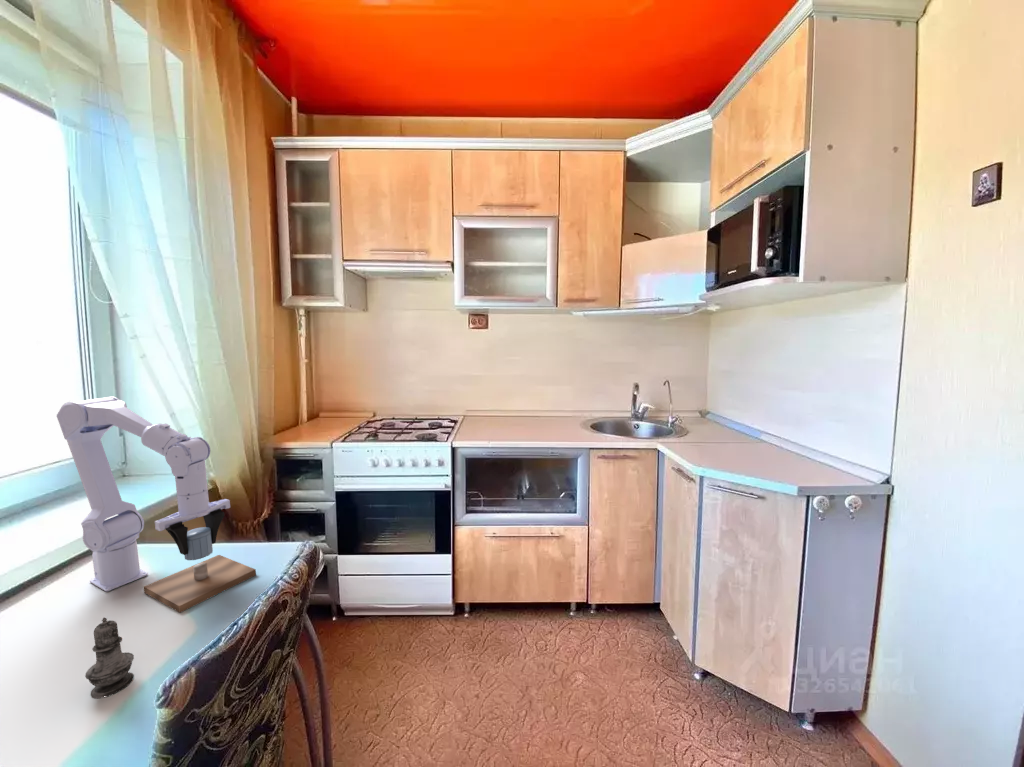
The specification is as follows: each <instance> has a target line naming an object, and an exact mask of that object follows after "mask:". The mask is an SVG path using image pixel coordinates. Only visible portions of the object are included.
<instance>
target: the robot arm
mask: <svg viewBox="0 0 1024 767" xmlns="http://www.w3.org/2000/svg"><path fill="white" fill-rule="evenodd" d="M56 418H57V421H58V423H59V424H58V425H59V426H60V429H61V433H62V435H63V437H64V440H66V441H67V445H68V448H69V450H70V453H71V456H72V458H73V461H74V464H75V467H76V471H77V472H78V475H79V479H80V481H81V484H82V486H83V487H82V488H83V489H84V492H85V494H86V497H87V501H88V503H89V507H90V509H91V511H90V512H89V513H88V514H87V516H86V517H85V518H84V519H83V520H82V522H81V523H80V524H81V527H82V532H83V533H82V541H83V544H84V545H85V547H86V548H88V549H89V550H91V552H92V556H91V557H92V564H93V572H94V573H93V574H94V578H91V579H90V580H89V582H90V583H91V584H93V585H94V586H96V587H98V588H99V589H101V590H102V591H104V592H110V591H112V590H114V589H117V588H119V587H121V586H124V585H127V584H129V583H131V582H135V581H136V580H138V579H142V578H144V577H146V576H148V575H149V573H148V572H147V571H145V570H143V569H141V567H140V560H139V552H138V550H139V549H138V544H137V540H138V539H139V538H140V533H141V532H143V530H144V528H145V521H144V520H145V519H144V518H143V517H144V516H143V515H141V513H139V511H138V510H137V507H136V505H135V504H134V503H131V502H127V501H125V500H123V499H122V497H121V495H120V491H119V488H118V485H117V483H116V480H115V477H114V475H113V471H112V468H111V465H110V463H109V461H108V458H107V455H106V451H105V448H104V446H103V443H102V441H101V440H102V438H103V437H104V434H105V433H107V432H108V431H109V430H110V429H112V428H113V427H114V426H115V427H117V428H119V429H121V430H123V431H126V432H128V433H131V434H132V435H135V436H137V437H139V438H140V442H141V444H142V445H143V446H145V447H146V448H149V449H150V450H153V451H154V452H156V453H158V454H160V455H161V456H164V458H165V462H166V463H167V465H169V467H170V469H171V474H172V476H174V480H175V488H176V497H177V498H176V501H177V507H178V508H177V509H178V511H177V512H174V513H172V514H170V515H167V516H166V517H165V516H164V517H163V518H160V519H158V520H154V527H155V530H156V531H158V532H162V531H165V530H166V532H167V533H168V534H169V535H170V536H171V538H172V539H173V541H174V542H175V544H176V546H177V549H178V551H179V554H181V555H183V556H185V555H186V554H188V545H187V531H189V527H187V526H185V522H188V521H191V520H194V519H197V518H201V517H203V521H204V523H205V525H204V526H205V527H209V528H210V529H211V537H212V545H214V544H216V542H217V536H218V531H219V529H220V526H221V523H222V521H223V519H224V517H225V511H222V510H223V509H225V510H227V509H230V508H231V502H230V501H231V500H230V499H227V498H224V499H219V500H215V501H211V502H210V500H209V489H208V478H207V469H206V460H207V459H208V458H209V457H210V455H211V447H210V444H209V443H208V441H207V440H205V439H204V438H203V437H202V436H201V437H200V436H195V437H192V436H188V435H186V434H184V433H181V432H180V431H177V430H175V429H173V428H172V427H171V425H169V424H168V423H156V424H152V423H151V422H150V421H149V420H147V419H145V418H144V417H142V416H140V415H139V414H137V412H136V413H135V412H134V411H132V410H131V409H130V408H128V406H127V403H126V401H124V400H121V399H120V398H118V397H115V396H105V397H99V398H92V399H85V400H77V401H73V400H72V401H71V400H70V401H67V402H65V403H64V404H62V405H61V407H60V409H59V410H58V412H57V414H56Z"/></svg>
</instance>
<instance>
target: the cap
mask: <svg viewBox="0 0 1024 767" xmlns="http://www.w3.org/2000/svg"><path fill="white" fill-rule="evenodd" d="M187 545H188V554H186V555H184V560H187V561H196V560H201V559H204V558H206V557H208V556H210V555H212V554H213V551H214V550H213V548H214V547H213V544H212V537H211V529H210V528H209V527H206V526H204V527H203V526H201V527H196V528H193V529H190V530H189V529H188V531H187Z"/></svg>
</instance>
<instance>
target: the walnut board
mask: <svg viewBox="0 0 1024 767" xmlns="http://www.w3.org/2000/svg"><path fill="white" fill-rule="evenodd" d="M255 576H257V572H256V569H255V568H253V567H252V566H249V565H246V564H243V563H241V562H239V561H236V560H234V559H231V558H228V557H225V556H223V555H221V554H217V555H215V556H213V557H211V558H208V559H206V560H205V559H204V560H203V561H201V562H197V563H196V564H194V565H191V566H189V567H186V568H184V569H181V570H179V571H177V572H174V573H172V574H170V575H168V576H166V577H162V578H160V579H158V580H155V581H154V582H151V583H148V584H145V585H144V586H143V592H144V594H146V595H147V594H148V596H149V595H150V598H153V599H155V600H156V599H157V601H158V602H160V603H161V604H163V603H164V605H166V606H167V607H169V608H171V609H172V608H173V610H175V612H178V613H183V612H184V611H187V610H188V609H191V608H193V607H195V606H197V605H198V604H201V603H203V602H205V601H207V600H208V599H211V598H212V597H215V596H217V595H219V594H221V593H223V592H225V591H227V590H229V589H231V588H233V587H235V586H237V585H239V584H241V583H243V582H245V581H247V580H249V579H251V578H253V577H255ZM224 590H225V591H224ZM222 591H223V592H222ZM218 593H219V594H218ZM214 595H215V596H214ZM210 597H211V598H210Z"/></svg>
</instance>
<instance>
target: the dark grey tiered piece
mask: <svg viewBox="0 0 1024 767" xmlns="http://www.w3.org/2000/svg"><path fill="white" fill-rule="evenodd" d="M118 629H119V628H118V623H117V622H116V621H115V620H108V618H106V617H104V616H103V618H102V619H101V622H100V623H99V624H98V625H97V626H95V628H94V629H93V639H94V646H93V647H92V652H93V653H95V658H96V661H95V663H94V664H93V665H92V666H90V667H89V668H88V669H87V671H86V672H85V675H84V676H85V678H86V680H88V681H89V683H90V684H91V685H92V686H94V687H93V688H92V689H91V691H90V695H89V696H91V698H93V699H102V698H101V697H104V696H107V697H110V696H113V695H115V694H117V693H119V692H120V691H123V690H124V689H126V688H127V687H128V686H129V685H130V684H131V683H132V682H133V680H134V679H135V674H134V673H133V672H130V670H131V667H132V665H133V661H134V659H135V658H134V657H135V655H134V654H133V653H132V652H127V651H125V652H122V647H121V643H122V641H123V637H122V636H119V630H118ZM112 694H113V695H112ZM109 695H110V696H109ZM104 698H105V697H104Z"/></svg>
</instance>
